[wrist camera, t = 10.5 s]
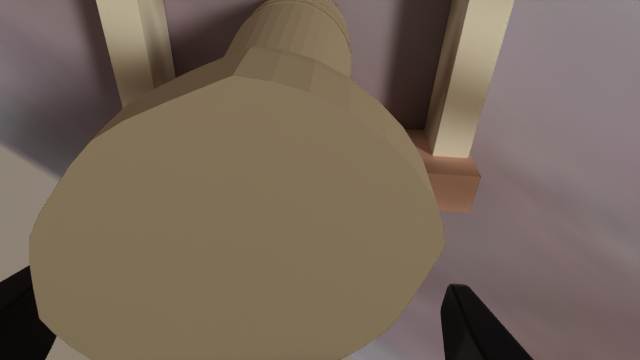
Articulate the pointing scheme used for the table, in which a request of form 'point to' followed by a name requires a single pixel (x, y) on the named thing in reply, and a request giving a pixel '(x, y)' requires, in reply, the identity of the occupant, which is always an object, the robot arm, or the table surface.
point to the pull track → (432, 143)
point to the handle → (241, 209)
